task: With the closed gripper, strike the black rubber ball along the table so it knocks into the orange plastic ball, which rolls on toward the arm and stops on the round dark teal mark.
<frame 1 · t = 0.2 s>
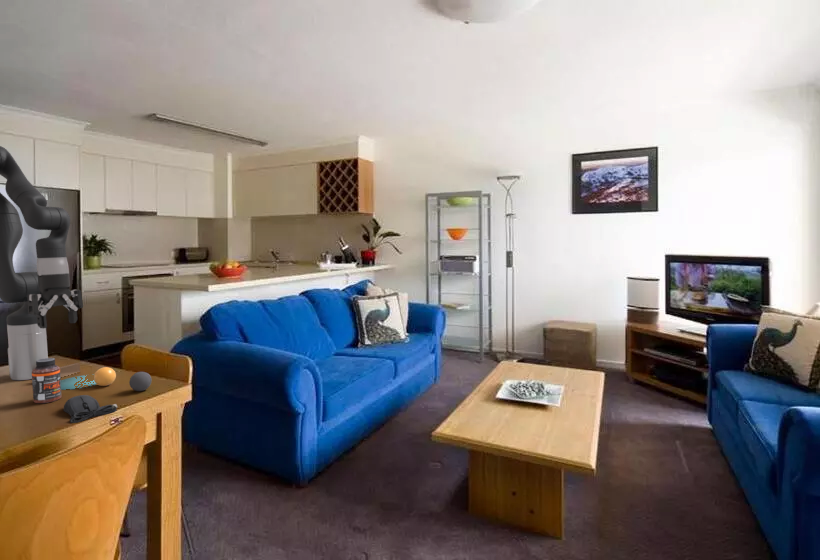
hand: (58, 325, 136), 17 cm above the table, tool pointing down, fingers open, 8 cm apart
computer mouse: (85, 413, 113), on the table
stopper: (59, 377, 140), on the table
supplement bottle: (47, 401, 120), on the table
orange ball: (104, 376, 133), on the table
teal mark: (81, 382, 136), on the table
black ball: (140, 381, 128), on the table
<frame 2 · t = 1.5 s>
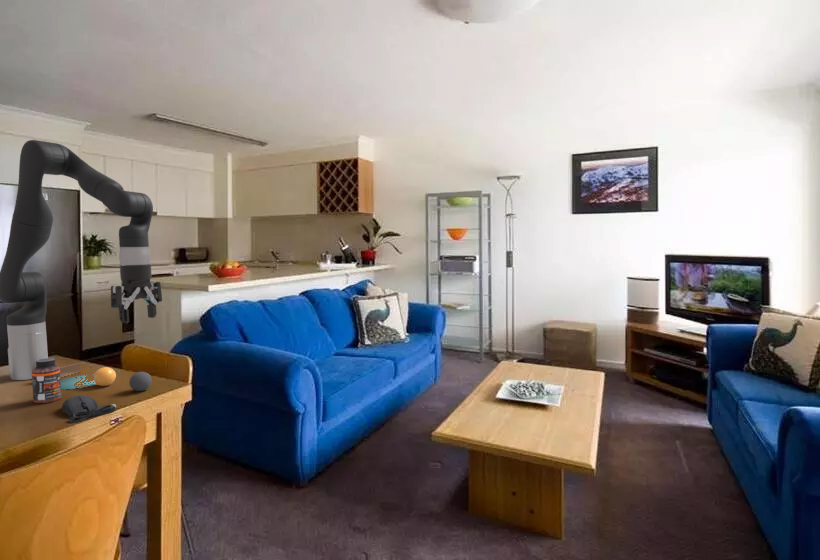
hand: (138, 320, 126), 21 cm above the table, tool pointing down, fingers open, 8 cm apart
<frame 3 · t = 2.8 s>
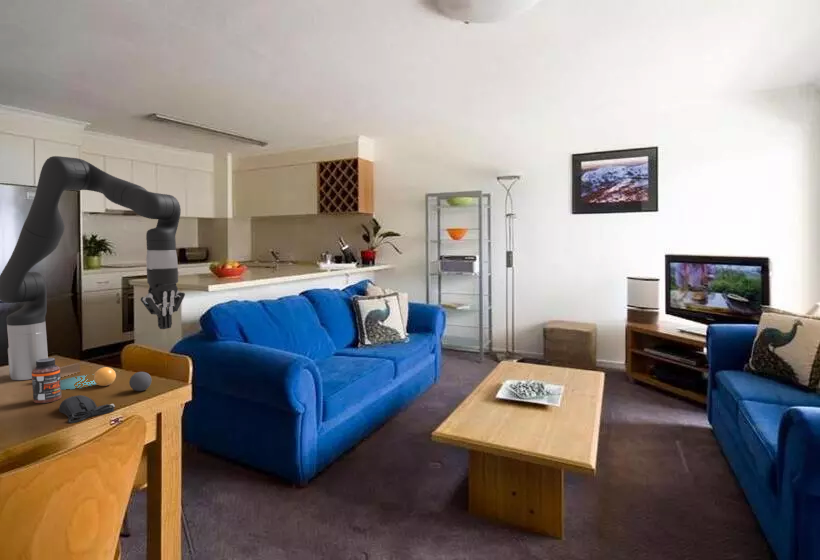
hand: (165, 328, 124), 19 cm above the table, tool pointing down, fingers closed
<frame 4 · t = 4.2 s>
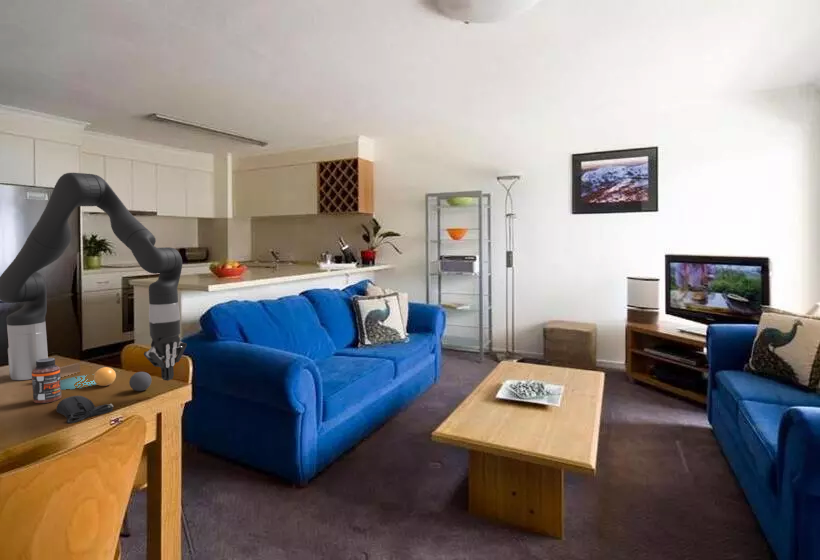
hand: (167, 379, 125), 4 cm above the table, tool pointing down, fingers closed
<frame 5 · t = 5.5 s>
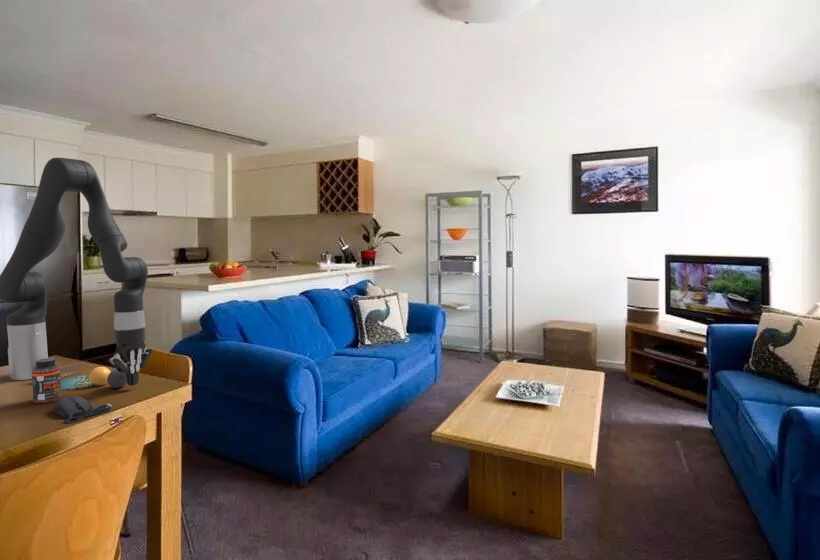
hand: (132, 384, 129), 1 cm above the table, tool pointing down, fingers closed
orange ball: (100, 375, 133), on the table
black ball: (118, 378, 131), on the table
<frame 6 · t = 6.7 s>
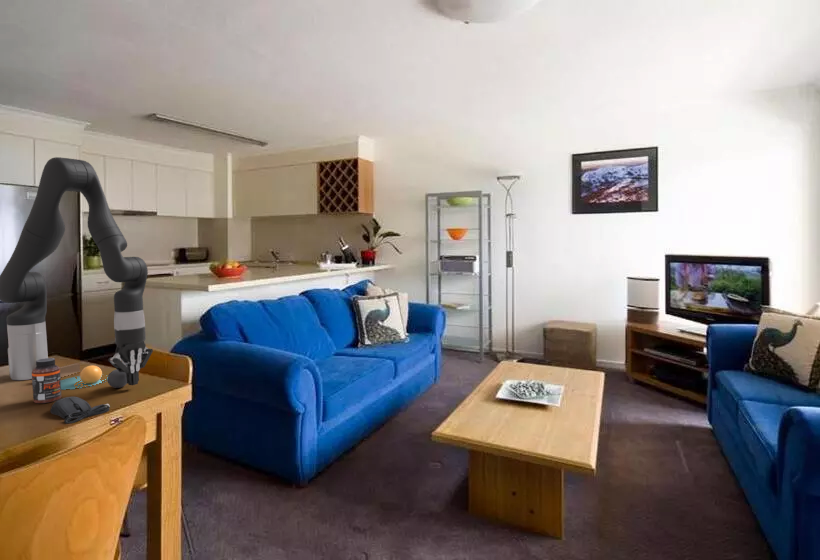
hand: (132, 384, 129), 2 cm above the table, tool pointing down, fingers closed
orange ball: (91, 374, 134), on the table
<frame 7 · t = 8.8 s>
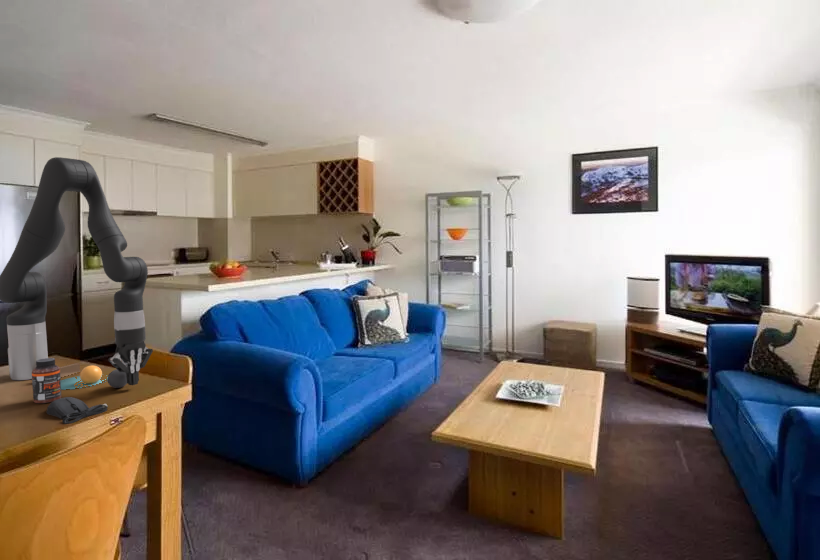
hand: (132, 384, 129), 2 cm above the table, tool pointing down, fingers closed
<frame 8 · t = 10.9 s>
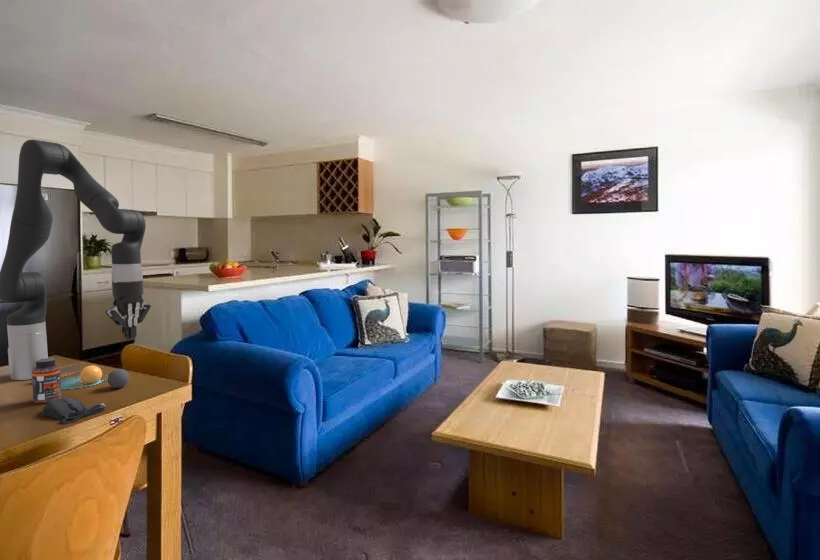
hand: (130, 339, 128), 15 cm above the table, tool pointing down, fingers closed
at the end: orange ball 4.3 cm from the teal mark (horizontally); orange ball never touched the robot; black ball first touched orange ball at 5.3 s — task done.
